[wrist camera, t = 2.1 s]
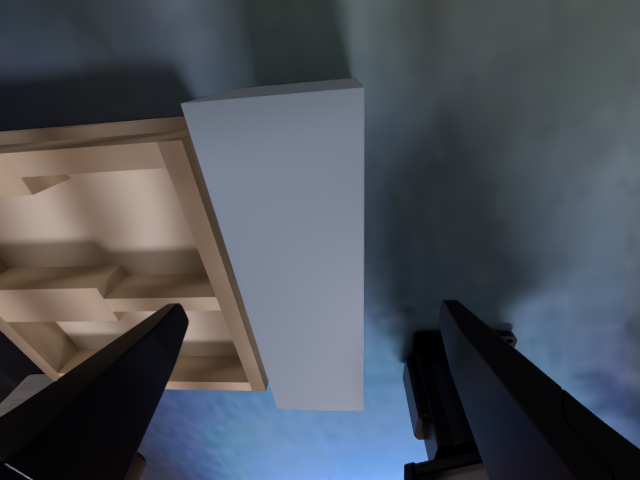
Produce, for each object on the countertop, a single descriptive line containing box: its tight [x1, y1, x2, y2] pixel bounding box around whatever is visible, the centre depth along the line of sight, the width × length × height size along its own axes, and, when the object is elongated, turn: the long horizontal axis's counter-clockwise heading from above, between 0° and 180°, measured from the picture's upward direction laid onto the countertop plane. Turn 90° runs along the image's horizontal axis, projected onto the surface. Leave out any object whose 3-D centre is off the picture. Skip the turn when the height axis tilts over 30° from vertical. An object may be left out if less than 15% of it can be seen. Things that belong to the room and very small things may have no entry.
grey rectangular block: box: [180, 78, 364, 411], centre depth 12 cm, size 4×13×6 cm, turn 5°
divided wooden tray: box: [0, 116, 268, 391], centre depth 17 cm, size 20×18×3 cm
